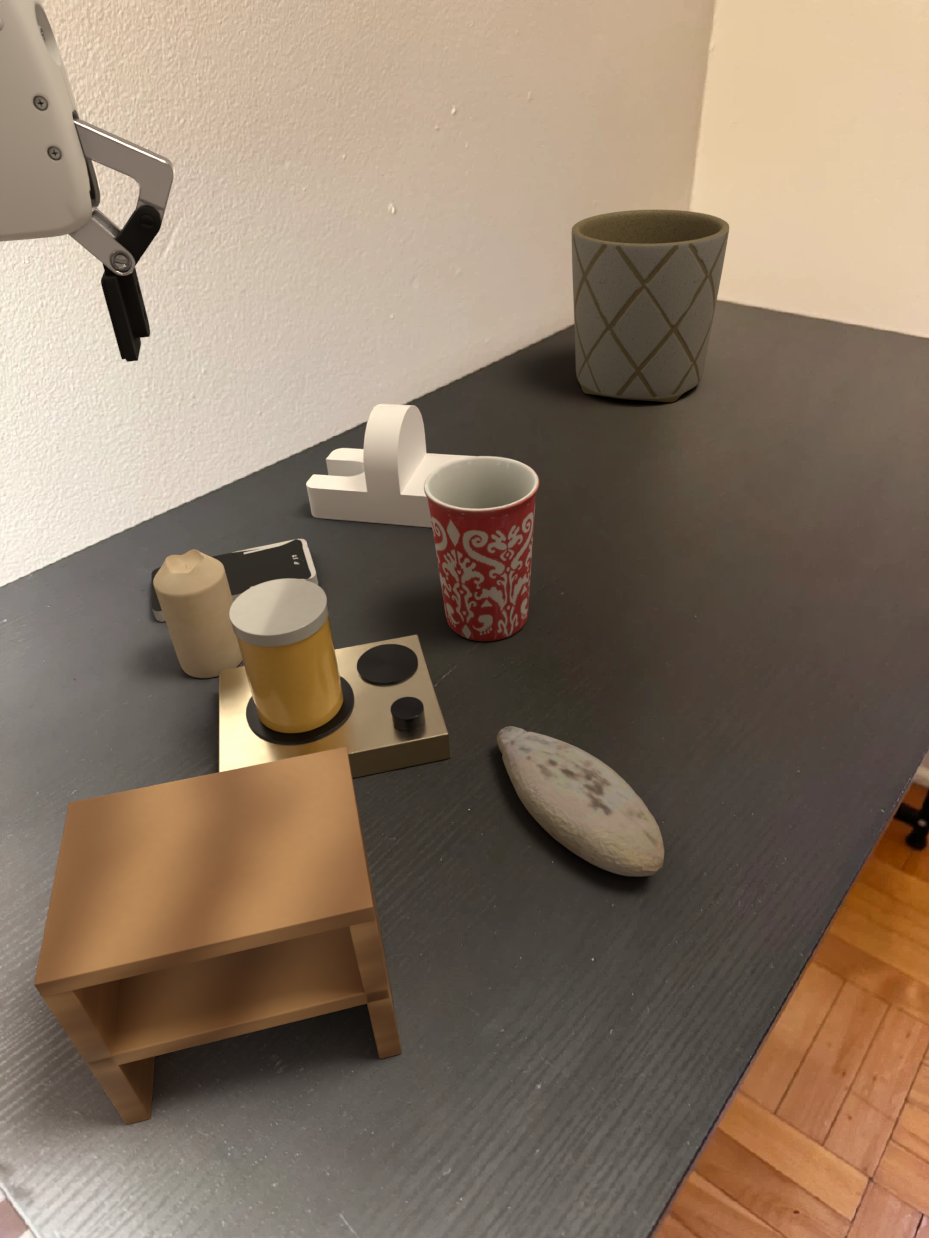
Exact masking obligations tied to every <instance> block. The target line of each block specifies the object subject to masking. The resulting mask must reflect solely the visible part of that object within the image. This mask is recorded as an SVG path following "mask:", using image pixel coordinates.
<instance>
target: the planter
mask: <svg viewBox="0 0 929 1238" xmlns="http://www.w3.org/2000/svg"><path fill="white" fill-rule="evenodd" d="M729 233H730V224H729V223H728V222H727V221H726V220H725V219H723V218H721V217H717V216H715V215H712V214H708V213H703V212H696V211H690V210H678V209H634V210H632V209H631V210H622V211H614V212H606V213H601V214H597V215H593V216H589V217H587V218H584V219H582V220H579V221H578V222H575V223H574V225H572V227H571V268H572V269H571V271H572V272H571V274H572V296H573V297H572V299H573V321H574V351H575V353H574V354H575V355H574V356H575V375H576V379H577V381H578V383H579V385H580V388H581V390H582V392H583V393H584V394H586V395H593V396H599V397H606V398H613V399H620V400H626V401H627V400H628V401H643V402H644V401H645V402H658V403H668V404H669V403H670V404H671V403H675V402H676V401H677V400H679V398H680V397H681V396H682V395H683V394H684V393H686V392H688V391H690V390H692V389H693V388H695V387H697V386H698V385H699V384H700V383H701V381H702V379H703V375H704V372H705V371H704V370H705V366H706V359H707V355H708V354H707V353H708V350H709V343H710V338H711V332H712V326H713V322H714V316H715V311H716V306H717V302H718V301H717V300H718V295H719V290H720V286H721V285H720V284H721V279H722V274H723V269H724V263H725V258H726V252H727V245H728V239H729Z"/></svg>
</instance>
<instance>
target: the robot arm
mask: <svg viewBox="0 0 929 1238" xmlns="http://www.w3.org/2000/svg"><path fill="white" fill-rule="evenodd" d="M95 163H97V164H100V165H102V166H103V167H106V168H109V169H111V170H114V171H115V172H118V173H120V174H123V175H124V176H128V177H130V178H131V179H133V180H134V181H135V182H136V183H137V186H138V188H139V189H138V191H139V192H138V193H139V194H138V197H137V202H136V204H135V205H136V206H135V209H134V211H133V212H132V214H131V215H130V216H129V218H128V219H127V221H126V222H125V224H124V225H123V227H122V228H121V227H120V226H119V225H117V224H116V222H114V221H113V220H112V219H111V218H110V217H109V216H108V215H106V214H105V213H104V212H103V211H102V210H100V208H98V207H99V205H100V203H101V198H102V196H101V195H102V194H101V186H100V180H99V176H98V173H97V168H96V165H95ZM175 172H176V171H175V165H174V164H173V162H172V161H171V160H170V159H169V158H168V157H166V156H164V155H161V154H160V153H156V152H154V151H153V150H150V149H148V148H145V147H143V146H141V145H140V144H137V143H134V142H133V141H130V140H128V139H126V138H123V137H121V136H119V135H116V134H115V133H112V132H111V131H107V130H105V129H103V128H101V127H99V126H97V125H94V124H92V123H89V122H87V121H85V120H83V119H82V116H81V114H80V111H79V107H78V104H77V100H76V97H75V95H74V91H73V88H72V85H71V82H70V79H69V76H68V73H67V69H66V66H65V63H64V60H63V57H62V54H61V52H60V49H59V45H58V43H57V41H56V37H55V34H54V31H53V29H52V26H51V23H50V20H49V19H48V16H47V12H46V11H45V8H44V6H43V3H42V0H0V242H10V241H11V242H12V241H24V240H37V239H48V238H55V237H61V236H66V235H68V236H69V237H71V239H73V240H75V242H77V243H78V244H79V245H80V246H82V247H83V248H84V249H85V250H86V251H87V252H88V253H90V254H91V255H92V256H93V257H94V258H96V259H97V260H98V261H99V262H101V263H102V267H103V274H102V276H101V278H100V286H101V289H102V293H103V297H104V300H105V303H106V308H107V311H108V315H109V318H110V321H111V326H112V328H113V333H114V336H115V337H114V338H115V340H116V344H117V348H118V352H119V355H120V358H121V360H125V361H126V363H129V362H138V361H139V357H140V352H141V347H142V341H141V340H142V339H141V338H150V337H151V327H150V322H149V317H148V313H147V310H146V309H147V308H146V304H145V300H144V297H143V293H142V289H141V285H140V281H139V277H138V273H137V268H136V266H137V265H138V263H139V262H140V260H141V259H142V257H143V255H144V254H145V253H146V251H147V250H148V248H149V247H150V245H151V243H152V242H153V241H154V239H155V237H157V235H158V233H159V232H160V230H161V227H162V224H163V221H164V216H165V212H166V209H167V204H168V201H169V198H170V193H171V190H172V186H173V182H174V177H175Z"/></svg>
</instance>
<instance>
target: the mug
mask: <svg viewBox="0 0 929 1238" xmlns="http://www.w3.org/2000/svg"><path fill="white" fill-rule="evenodd" d="M475 456H476V457H467V458H463V459H458V460H455V461H451V462H449V463H446V464H444V465H442V466H440V467H438V468H437V469H435V470H434V471H433V472H432V473H430V474H429V476H428V477H427V479H426V480H425V483H424V492H425V495H426V496H427V498H428V504H429V510H430V516H431V523H432V527H431V528H432V534H433V542H434V548H435V553H436V560H437V561H436V562H437V568H438V575H439V581H440V586H441V592H442V599H443V605H444V613H445V617H446V623H447V625H448V626H449V628H450V629H451V630H452V631H453V632H454V633H455V634H457V635H459V636H460V637H462V638H465V639H467V640H471V641H476V642H495V641H501V640H504V639H507V638H509V637H511V636H514V635H515V634H517V633H518V632H519V631H520V630H521V629H522V628H524V626H525V625H526V623H527V621H528V617H529V611H530V610H529V608H530V591H531V590H530V589H531V575H532V559H533V558H532V557H533V542H534V528H535V513H536V511H535V510H536V495H537V491H538V489H539V487H540V479H539V475H538V474H537V472H536V471H535V470H534V469H533V468H532V467H531V466H529V465H527V464H526V463H523V462H521V461H519V460H516V459H512V458H508V457H503V456H495V455H494V456H492V455H478V456H477V455H475Z"/></svg>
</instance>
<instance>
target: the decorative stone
mask: <svg viewBox="0 0 929 1238" xmlns="http://www.w3.org/2000/svg"><path fill="white" fill-rule="evenodd" d="M496 743H497V746H498V749H499V751H500V753H501V754H502V757H501V758H502V761H503V764H504V767H505V770H506V773H507V775H508V776H509V779H510V782H511V784H512V786H513V788H514V791H515V793H516V795H517V796H518V798H519V800H520V801H521V803H522V805H523V806H524V808H525V810H527V812H528V813H529V815H530V816H531V817H532V818H533V819H534V820H535V821H536V823H538V825H540V826H541V828H543V830H544V831H546V832H547V834H549V836H551V838H553V839H554V840H555V841H556V842H558V843H559V844H560V845H562V846H563V847H565V848H566V849H567V850H569V851H570V852H572V853H573V854H574V855H576V856H577V857H579V858H581V859H583V860H584V861H586V862H587V863H589V864H591V865H593V866H595V867H597V868H600V869H601V870H604V871H607V872H609V873H612V874H615V875H619V876H624V877H649V876H652V875H654V874H656V873H657V872H659V870H660V871H661V869H662V867H663V865H664V861H665V860H664V859H665V847H664V840H663V836H662V832H661V830H660V826H659V825H658V823H657V821H656V818H655V817H654V815H653V814H652V813H651V812H650V810H649V809H648V806H647V805H646V804H645V802H644V801H643V799H642V798H641V797H640V796H639V795H638V794H637V793H636V792H635V790H634V789H633V787H631V785H630V784H629V783H628V782H626V780H625V779H624V778H622V776H620V775H619V773H617V772H616V771H615V770H614V769H613V768H611V767H610V766H609V765H608V764H606V763H604V761H602V760H601V759H599V758H598V757H595V756H594V755H593V754H591V753H589V752H587V751H586V750H583V749H581V748H580V747H577V746H576V745H572V744H570V743H568V742H566V741H563V740H560V739H557V738H555V737H551V736H549V735H545V734H542V733H537V732H535V731H527V730H525V729H523V728H521V727H517V726H513V725H508V726H505V727H503V728H501V729H500V730H499V731H498V733H497V735H496Z"/></svg>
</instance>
